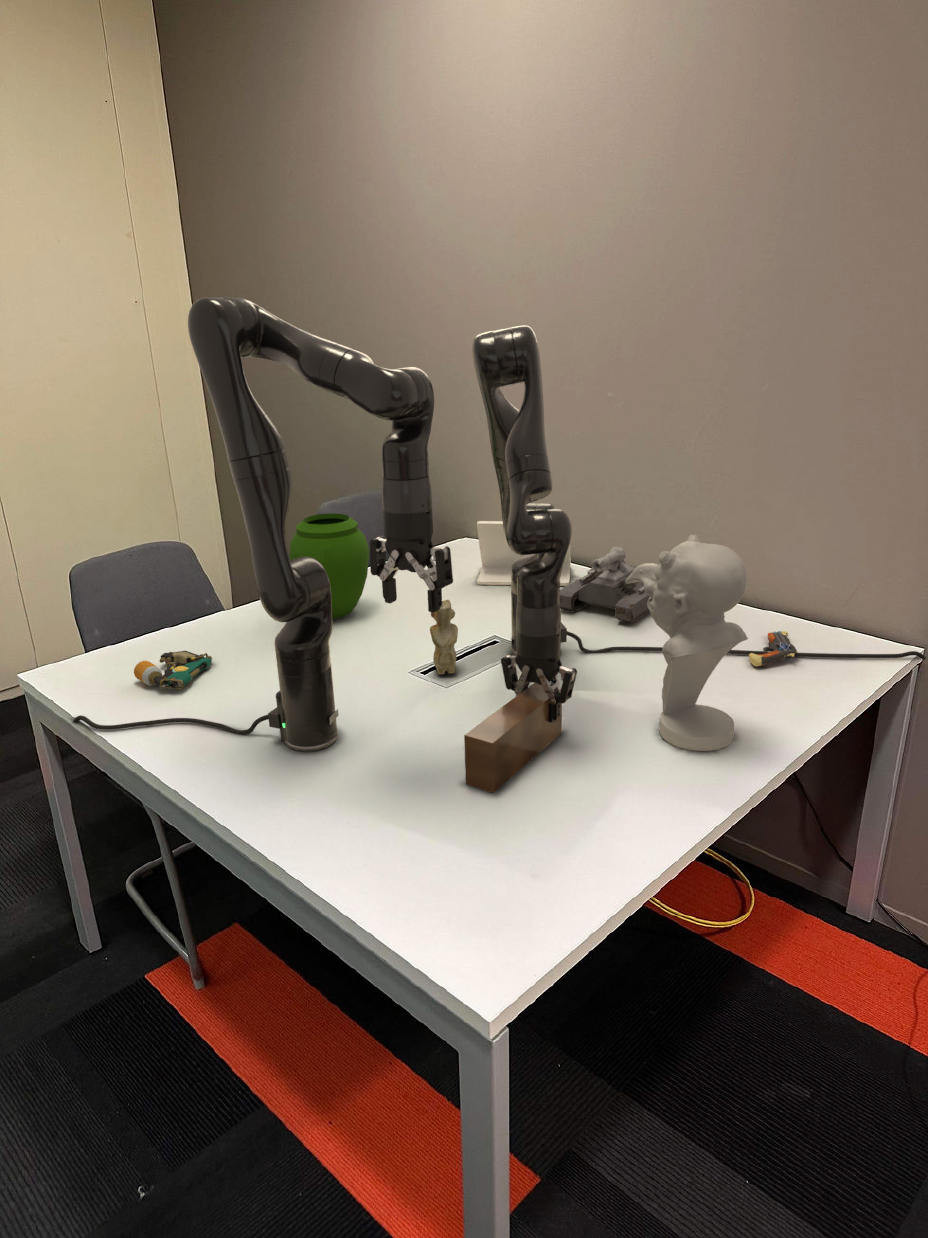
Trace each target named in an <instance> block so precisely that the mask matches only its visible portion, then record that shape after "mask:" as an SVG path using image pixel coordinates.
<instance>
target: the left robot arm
mask: <svg viewBox="0 0 928 1238" xmlns="http://www.w3.org/2000/svg"><path fill="white" fill-rule="evenodd" d="M187 330H188V331H187V332H188V336H189V341H190V343H191V346H192V350H193V353H194V356H195V358H196V361H197V364H198V366H199V369H200V371H201V374H202V377H203V379H204V380H203V381H204V383H205V386H206V387H207V391H208V393H209V397H210V399H211V402H212V405H213V409H214V412H215V415H216V419H217V422H218V427H219V430H220V433H221V436H222V440H223V444H224V448H225V452H226V453H225V454H226V457H227V461H228V465H229V469H230V474H231V476H232V480H233V483H234V487H235V490H236V494H237V496H238V500H239V505H240V508H241V512H242V517H243V522H244V526H245V529H246V535H247V538H248V544H249V550H250V554H251V562H252V568H253V575H254V581H255V587H256V591H257V595H258V598H259V601H260V604H261V605H262V608H263V609H264V611H265V612H266V614H267V615H268V616H269V617H270V618H271V619H273V620H274V621H276V622H278V623H284V625H283V627H281V629H280V630H279V632H278V633H277V634H276V636H275V638H274V652H275V653H274V654H275V661H276V666H277V667H276V668H277V669H276V670H277V677H278V686H279V690H278V691H277V692H276V693H275V701H276V707H275V708H273V709H272V710H270V711H269V712H268V713H267V714H265V715H262V716H260V717H258V718H256V719H255V720H254V721H253V722H252V723H251V725H250V726H249V728H247V729H237V728H233V727H231V726H229V725H226V724H223V723H220V722H215V721H210V720H205V719H200V718H193V717H171V718H161V719H152V720H145V721H144V720H143V721H134V722H128V723H121V724H110V725H109V724H106V725H105V724H98V723H96V722H94V721H92V720H91V719H89V718H88V717H87V716H85V715H81V714H80V715H78V716H76V717H75V718H74V719H73V720H72V723H79V721H82V722H83V723H85V724H86V725H87V726H89V727H91V728H92V729H95V730H100V731H101V730H102V731H103V730H104V731H113V730H114V731H115V730H121V729H128V728H137V727H146V726H147V727H148V726H155V725H162V724H163V725H164V724H172V723H187V724H190V723H191V724H198V725H203V726H207V727H212V728H218V729H221V730H224V731H226V732H228V733H231V734H235V735H241V736H244V735H249V734H251V733H253V732H254V730H255V729H256V727H258V725H259V724H261V723H262V722H264V721H267V720H268V726H269V727H270V728H273V729H278V730H279V736H280V741H281V742H282V743H285V745H286V746H287V747H288V748H290V749H292V750H295V751H298V752H299V751H300V752H312V751H318V750H319V751H320V750H322V749H323V750H324V749H325V748H328V747H329V746H332V745H333V744H334V743H336V741H337V740H338V738H339V730H338V725H337V724H338V723H337V718H338V717H339V708H337V709H336V703H335V701H336V700H335V691H334V680H333V670H332V669H333V668H332V661H331V650H330V640H331V636H332V632H333V619H332V598H331V587H330V582H329V578H328V575H327V573H326V571H325V569H324V567H323V566H322V565H321V564H320V563H319V562H318V561H317V560H315V559H314V558H311V557H299V558H296V559H293V560H290V558H289V549H288V545H287V538H286V537H287V535H286V530H287V529H286V528H287V527H286V525H287V519H288V513H289V510H290V504H291V498H292V494H293V493H292V492H293V475H292V469H291V466H290V461H289V458H288V453H287V450H286V445H285V441H284V440H283V437H282V435H281V433H280V431H279V430H278V428H277V426H276V425H275V423H274V422H273V420H272V419H271V418H270V417H269V415H268V413H266V411H265V410H264V408H263V407H262V406H261V404H260V403H259V402H258V400H257V399H256V397H255V395H253V392H252V390H251V388H250V385H249V383H248V380H247V377H246V373H245V370H244V366H243V362H242V360H243V359H247V358H255V359H262V360H266V361H271V362H276V363H279V364H280V365H283V366H285V367H288V368H289V369H290V370H292V371H293V372H294V373H295V374H296V375H298V376H299V377H300V378H301V379H302V380H304V381H305V382H307V383H309V384H310V385H312V386H314V387H317V388H319V389H321V390H323V391H326V392H328V393H331V394H334V395H336V396H339V397H341V398H343V399H347V400H349V401H350V402H351V403H353V404H354V405H356V406H357V407H359V408H360V409H362V410H363V411H365V412H367V413H368V414H369V415H372V416H374V417H377V418H378V419H382V420H385V421H391V428H390V432H389V434H388V435H387V436H386V437H385V438H383V440H382V442H381V444H380V463H381V507H382V521H383V522H382V523H383V535H380V536H377V537H374V538H372V539H370V540H369V562H370V563H369V564H370V565H369V567H370V569H369V570H370V574H371V575H372V576H377V577H379V580H380V581H381V587H382V588H381V589H382V597H383V599H384V602H385V604H392V603H395V602H396V601H397V600H398V599H397V598H398V595H397V594H398V593H397V579H396V578H395V576H396V574H397V573H398V571H408V572H410V573H414V574H415V573H416V574H417V576H418V577H419V578H420V579H421V580H423V581H424V583H425V585H426V586H427V588H428V589H427V611H428V612H429V613H431V612H432V613H434V612H436V611H438V610H439V609H440V607H441V606H442V601H443V589H444V588H446V587H447V586H451V584H453V582H454V577H453V575H454V574H453V565H452V554H451V553H452V552H451V548H450V546H448V545H446V546H442V547H437V546H434V544H433V542H432V537H433V534H434V521H433V520H434V518H433V517H434V516H433V495H432V493H433V492H432V486H431V479H430V466H429V465H430V463H429V450H428V445H429V441H430V436H431V430H432V425H433V424H432V423H433V418H434V411H435V392H434V391H435V390H434V387H433V384H432V381H431V379H430V377H429V375H427V373H426V372H425V371H424V370H422V369H421V368H419V367H415V366H405V367H398V368H393V369H391V368H385V367H383V366H382V367H381V366H379V365H376V364H375V363H374V360H373V359H372V358H371V357H370V356H369V355H367V354H366V353H364V352H361V351H358V350H356V349H354V348H351V347H348V346H346V345H343V344H340V343H337V342H335V341H333V340H330V339H326V338H323V337H321V336H318V335H316V334H313V333H310V332H308V331H306V330H303V329H301V328H298V327H297V326H295V325H293V324H291V323H289V322H286V321H285V320H283V319H281V318H280V317H278V316H276V315H274V314H273V313H271V312H270V311H268V310H266V309H265V308H263V307H261V306H260V305H258V304H257V303H255V302H252V301H251V300H250V299H246V298H244V297H241V296H240V297H239V296H207V297H205V296H204V297H201V298H198V299H196V300H195V301H194V302H193V303H192V305H191V307H190V309H189V312H188V315H187ZM386 552H387V553H388V555H389V558H388V559H387V554H386ZM432 557H433V558H432ZM426 567H427V569H425V568H426ZM281 742H280V743H281Z"/></svg>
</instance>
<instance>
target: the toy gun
mask: <svg viewBox="0 0 928 1238" xmlns="http://www.w3.org/2000/svg"><path fill="white" fill-rule="evenodd" d="M789 636H790V634H789V632H788V631H786V630H784V631H781V630H778V631H773V632H768V633H767V639H768V641H769V642H768V645H767V646H764V647H763V649H762V651H763V654H758V655H756V654H754V653H750V654H749V655H748V658H749V662H750V663H751V665H752V666H754V667H760V666H764V665H768V664H771V663H775V662H777V661H781V660H785V659H786V658H789V657H791V656H792V658H795V657H794V655H795V653H799V651H798V649H797V648H796V646H795V645H794V644H792V643H791V642H790V639H789V638H788V637H789ZM767 651H768V652H767Z"/></svg>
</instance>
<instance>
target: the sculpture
mask: <svg viewBox="0 0 928 1238" xmlns="http://www.w3.org/2000/svg"><path fill="white" fill-rule="evenodd" d="M455 615H456V611H455V609H453V608H452V602H451V601H450V599H445V600H442V606H441V607H440V609H439V610H438V611H436V612H434V613H432V612H430V617H431V618H432V619H433V620H434V621H435V622H436V623H435V624H433V625H431V626H429V633H430V636H431V640H432V641H431V642H432V643H433V645H434V648H435V649H434V652H433V656H432V657H433V659H432V660H433V665H434V667H435V668H436V671H437V674H438V675H445V674H446V672H447V673H448V674H455V673H456V666H457V665H456V663H457V652H456V649H455V644H456V643H457V642H458V637H459V635H458V634H459V627H458V626H457V624H455V623H453V622H451V621H452V620H453V619H454V618H455Z"/></svg>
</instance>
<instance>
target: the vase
mask: <svg viewBox="0 0 928 1238" xmlns="http://www.w3.org/2000/svg"><path fill="white" fill-rule="evenodd" d="M358 524H359V523H358V521H356V520H355V519H353V518H352V517H350V516H349V515H347V514H344V513H335V512H334V513H333V512H331V513H320V514H313V515H310V516H307V517H305V518H303V519H302V520H301V521H300V522H299V523H298V524H297V525H296V526H295V532H296V533H295V534H294V536H293V537H292V538H291V540H290V542H289V550H288V554H289V558H290V560H293V559H296V558H299V557H311V558H314V559H315V560H317V561H318V562H319V563H320V564H321V565H322V566H323V567H324V569H325V571H326V573H327V575H328V578H329V582H330V587H331V598H332V620H336V619H341V618H345V617H347V616H349V615H350V614H351V613H352V612H353V611H354V610H355V608H356V607H357V605H358V604H359V601H360V599H361V597H362V595H363V592H364V588H365V586H366V581H367V578H368V570H369V562H370V547H369V545H368V541H367V537H366V535H365V534H364V533H363V532H362V531H361V530H360V529H359V527H358Z"/></svg>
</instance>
